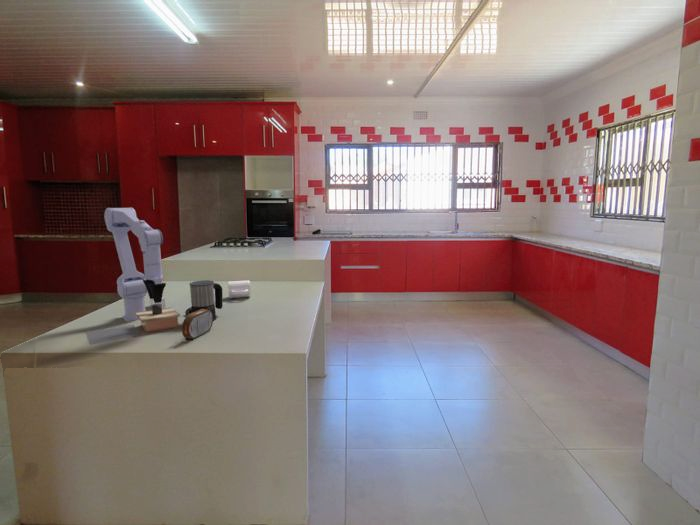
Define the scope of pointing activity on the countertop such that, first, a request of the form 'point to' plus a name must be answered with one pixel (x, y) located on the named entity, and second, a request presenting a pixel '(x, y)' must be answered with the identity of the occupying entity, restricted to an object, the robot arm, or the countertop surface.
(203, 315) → the tin
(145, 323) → the terracotta dish
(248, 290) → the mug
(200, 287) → the milk frother
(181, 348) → the countertop surface
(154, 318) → the birch lid
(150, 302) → the napkin holder
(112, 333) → the slate mat
